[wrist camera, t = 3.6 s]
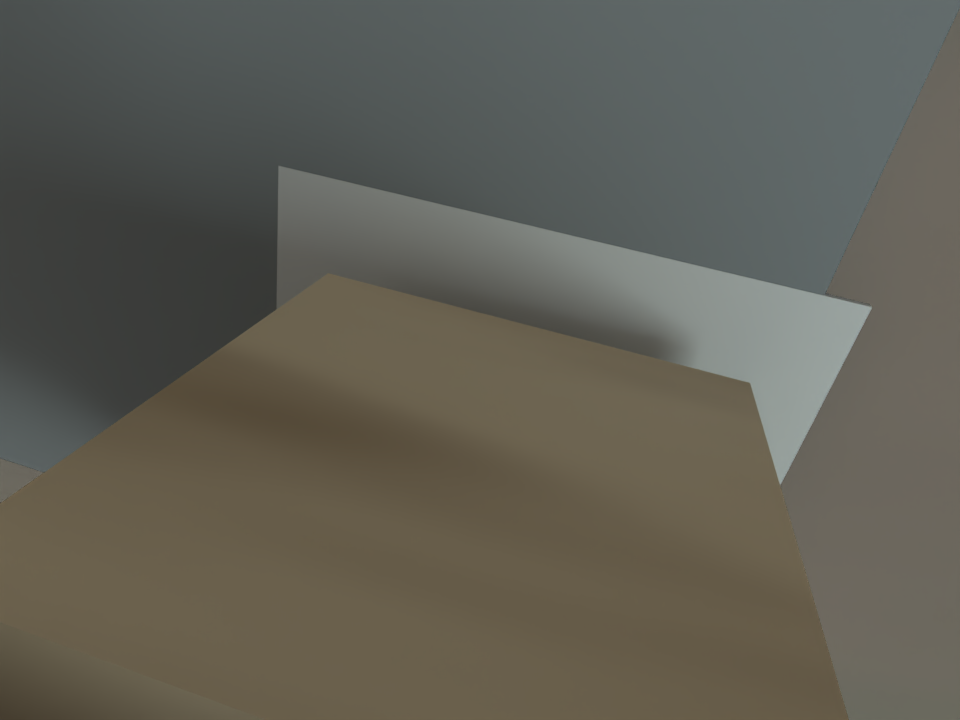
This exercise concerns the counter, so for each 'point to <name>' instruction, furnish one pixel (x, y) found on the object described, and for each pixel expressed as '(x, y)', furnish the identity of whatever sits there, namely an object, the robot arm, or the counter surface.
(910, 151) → the counter surface
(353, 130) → the mat
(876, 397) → the counter surface
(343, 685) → the maple cube
